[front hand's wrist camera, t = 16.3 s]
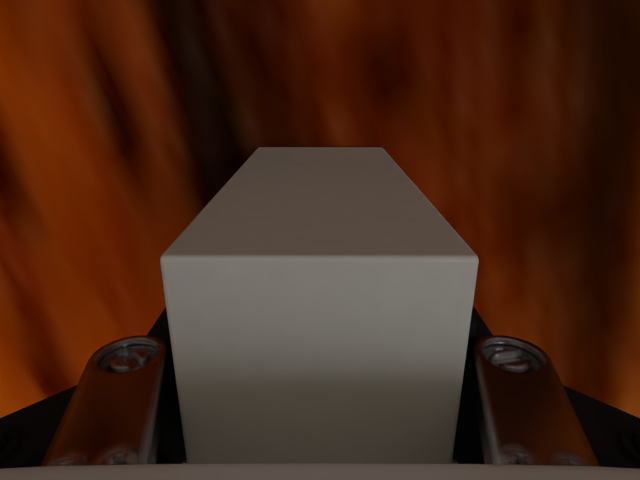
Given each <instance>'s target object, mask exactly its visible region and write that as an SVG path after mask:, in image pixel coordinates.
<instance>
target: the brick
mask: <svg viewBox="0 0 640 480" xmlns="http://www.w3.org/2000/svg"><path fill="white" fill-rule="evenodd" d="M478 262H479V260H478V257H477V255H476V254H475V253H474V252H473V251H472V250H471V248H470V247H469V246H468V245H467V244H466V243H465V242H464V240H463V239H462V238H461V237H460V236H459V235H458V233H457V232H456V231H455V230H454V229H453V228H452V227H451V225H450V224H449V223H448V222H447V221H446V220H445V219H444V217H443V216H442V215H441V214H440V213H439V212H438V211H437V209H436V208H435V207H434V206H433V205H432V204H431V203H430V201H429V200H428V199H427V198H426V197H425V196H424V195H423V193H422V192H421V191H420V190H419V189H418V188H417V187H416V185H415V184H414V183H413V182H412V181H411V180H410V179H409V177H408V176H407V175H406V174H405V173H404V172H403V171H402V169H401V168H400V167H399V166H398V165H397V164H396V163H395V161H394V160H393V159H392V158H391V157H390V156H389V155H388V153H387V152H386V151H385V150H384V149H383V148H382V147H259V148H258V149H257V150H256V151H255V152H254V153H253V154H252V155H251V156H250V157H249V159H248V160H247V161H246V162H245V163H244V164H243V165H242V166H241V167H240V169H239V170H238V171H237V172H236V173H235V174H234V175H233V176H232V177H231V179H230V180H229V181H228V182H227V183H226V184H225V185H224V186H223V188H222V189H221V190H220V191H219V192H218V193H217V194H216V195H215V196H214V198H213V199H212V200H211V201H210V202H209V203H208V204H207V205H206V206H205V208H204V209H203V210H202V211H201V212H200V213H199V214H198V215H197V216H196V218H195V219H194V220H193V221H192V222H191V223H190V224H189V225H188V227H187V228H186V229H185V230H184V231H183V232H182V233H181V234H180V235H179V237H178V238H177V239H176V240H175V241H174V242H173V243H172V244H171V245H170V247H169V248H168V249H167V250H166V251H165V252H164V253H163V254H162V255H161V258H160V264H161V272H162V279H163V287H164V294H165V302H166V309H167V317H168V324H169V332H170V339H171V347H172V354H173V362H174V369H175V377H176V384H177V392H178V399H179V407H180V414H181V422H182V429H183V437H184V444H185V452H186V459H187V464H291V463H349V464H452V457H453V449H454V442H455V434H456V427H457V419H458V412H459V404H460V397H461V389H462V382H463V374H464V367H465V359H466V352H467V344H468V337H469V329H470V322H471V314H472V307H473V299H474V292H475V284H476V277H477V269H478Z"/></svg>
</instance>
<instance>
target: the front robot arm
mask: <svg viewBox="0 0 640 480" xmlns="http://www.w3.org/2000/svg"><path fill="white" fill-rule="evenodd" d="M182 463H187V459H186V452H185V444H184V437H183V429H182V422H181V414H180V407H179V399H178V392H177V384H176V377H175V369H174V362H173V354H172V347H171V339H170V332H169V324H168V317H167V309H166V308H165V309H164V311H163V312H162V314H161V315H160V317H159V318H158V320H157V321H156V323H155V324H154V326H153V327H152V329H151V330H150V332H149V333H148V335H147V336H131V337H125V338H121V339H118V340H115V341H112V342H110V343H108V344H106V345H104V346H102V347H101V348H100V349H98V350H97V351H96V352H95V353H93V355H92V356H91V358H90V359H89V361H88V363H87V365H86V367H85V369H84V372H83V374H82V376H81V378H80V380H79V382H78V385H77V386H74V387H72V388H70V389H67V390H65V391H63V392H60V393H58V394H56V395H53V396H51V397H49V398H46V399H44V400H42V401H39V402H37V403H35V404H32V405H30V406H28V407H25V408H23V409H21V410H18V411H16V412H14V413H11V414H9V415H7V416H4V417H2V418H0V480H640V418H638V417H635V416H633V415H631V414H628V413H626V412H624V411H621V410H619V409H617V408H614V407H612V406H610V405H607V404H605V403H603V402H600V401H598V400H596V399H593V398H591V397H589V396H586V395H584V394H582V393H580V392H577V391H575V390H573V389H570V388H568V387H566V386H563V385H562V382H561V380H560V378H559V376H558V374H557V372H556V369H555V367H554V365H553V363H552V361H551V359H550V358H549V356H548V355H547V353H545V352H544V351H543V350H542V349H540V348H539V347H538V346H536V345H534V344H532V343H530V342H528V341H525V340H522V339H519V338H515V337H509V336H493V335H492V333H491V332H490V330H489V329H488V327H487V326H486V324H485V323H484V321H483V320H482V318H481V317H480V315H479V314H478V312H477V311H476V309H475V308H474V306H473V307H472V314H471V322H470V329H469V337H468V344H467V352H466V359H465V367H464V374H463V382H462V389H461V397H460V404H459V412H458V419H457V427H456V434H455V442H454V449H453V457H452V463H458V464H349V463H291V464H182Z"/></svg>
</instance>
